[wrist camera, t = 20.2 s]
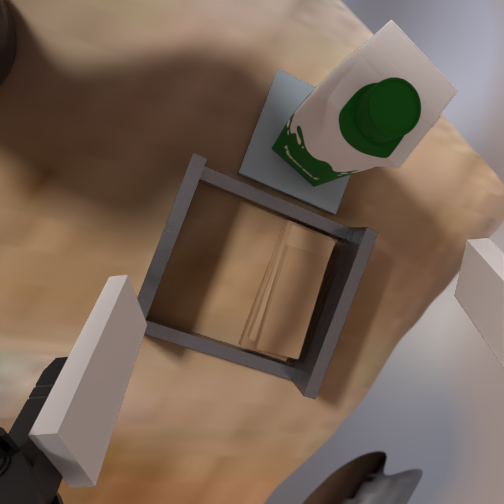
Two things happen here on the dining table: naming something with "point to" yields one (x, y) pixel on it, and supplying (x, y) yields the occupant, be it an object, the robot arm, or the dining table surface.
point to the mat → (270, 163)
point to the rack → (327, 303)
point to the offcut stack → (288, 293)
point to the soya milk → (366, 111)
